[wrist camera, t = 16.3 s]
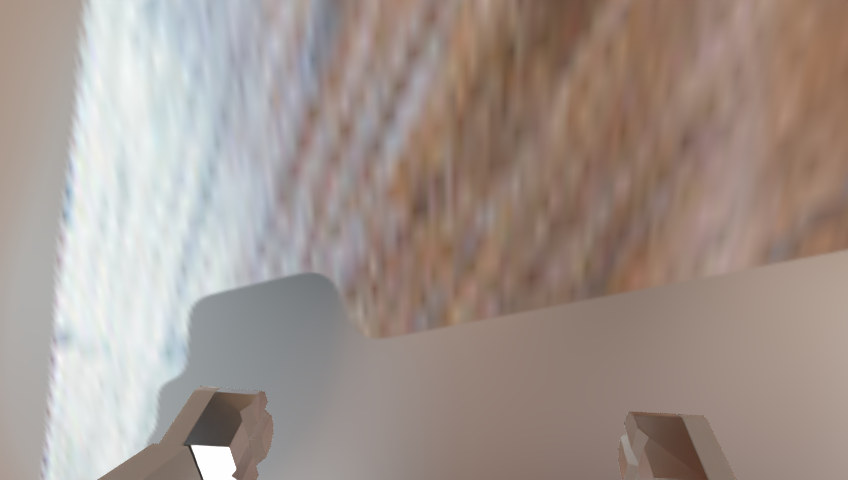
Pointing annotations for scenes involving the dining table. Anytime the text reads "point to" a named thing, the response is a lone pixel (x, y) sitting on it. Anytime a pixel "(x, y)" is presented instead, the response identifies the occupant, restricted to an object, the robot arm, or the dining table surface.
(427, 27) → the dining table surface
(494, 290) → the dining table surface
